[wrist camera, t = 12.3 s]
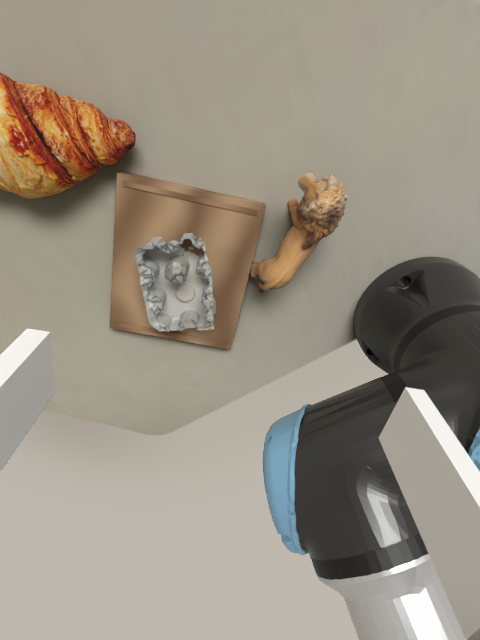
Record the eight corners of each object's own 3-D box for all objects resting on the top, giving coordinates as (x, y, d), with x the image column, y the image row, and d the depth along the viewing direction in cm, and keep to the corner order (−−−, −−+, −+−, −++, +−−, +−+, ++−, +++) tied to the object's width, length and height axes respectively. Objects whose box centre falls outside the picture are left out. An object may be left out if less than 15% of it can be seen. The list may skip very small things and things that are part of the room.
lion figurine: (295, 156, 36) (310, 166, 28) (342, 177, 37) (369, 193, 29) (241, 283, 42) (241, 320, 34) (281, 297, 43) (291, 337, 35)
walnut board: (264, 203, 38) (265, 206, 36) (230, 343, 46) (230, 350, 45) (121, 171, 36) (116, 173, 35) (113, 321, 45) (109, 328, 43)
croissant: (-34, 174, 40) (-66, 225, 35) (-117, 74, 31) (-172, 124, 27) (153, 158, 38) (144, 208, 34) (119, 49, 30) (101, 97, 26)
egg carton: (218, 317, 43) (217, 335, 39) (156, 321, 43) (149, 339, 40) (209, 229, 38) (206, 241, 34) (139, 233, 38) (128, 246, 34)
